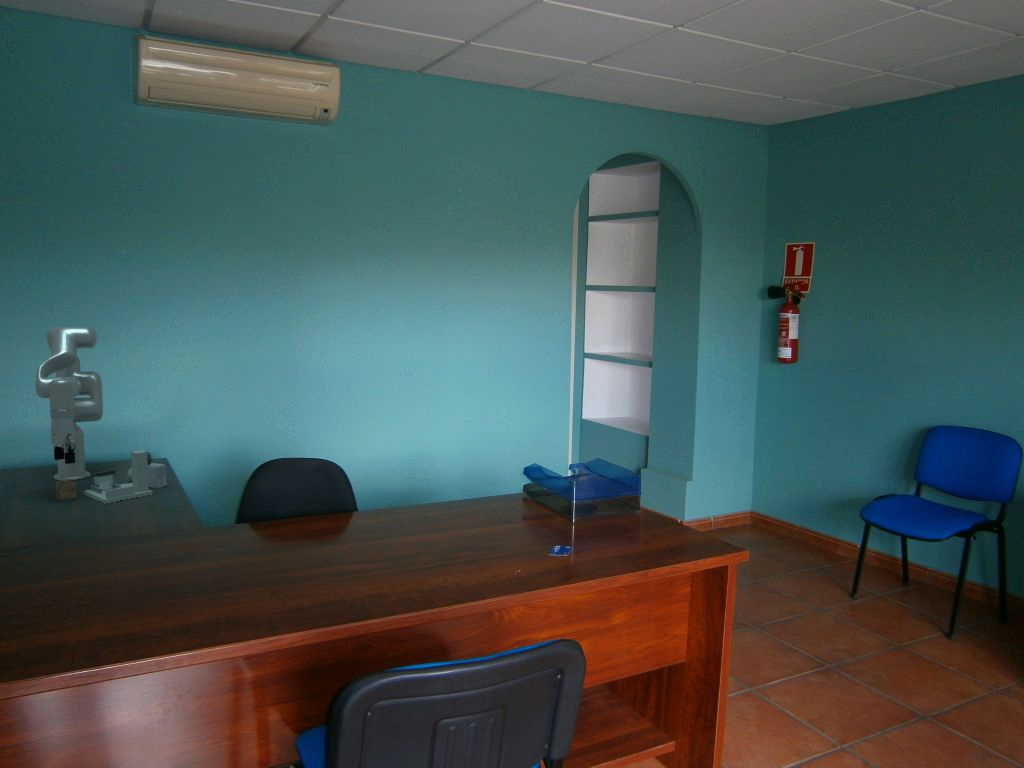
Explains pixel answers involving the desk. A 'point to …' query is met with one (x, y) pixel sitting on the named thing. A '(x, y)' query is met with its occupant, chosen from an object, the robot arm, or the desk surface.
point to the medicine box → (156, 475)
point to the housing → (66, 490)
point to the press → (130, 489)
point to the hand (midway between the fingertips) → (64, 461)
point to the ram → (103, 479)
